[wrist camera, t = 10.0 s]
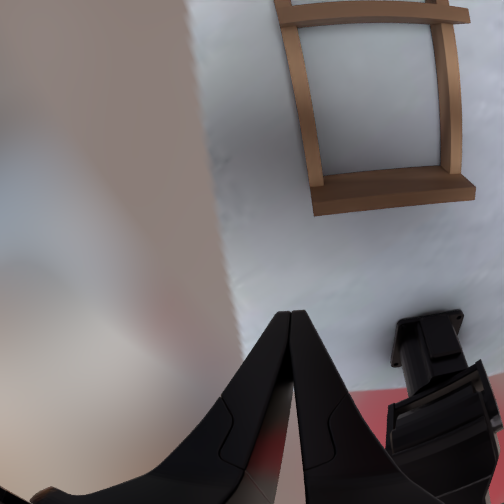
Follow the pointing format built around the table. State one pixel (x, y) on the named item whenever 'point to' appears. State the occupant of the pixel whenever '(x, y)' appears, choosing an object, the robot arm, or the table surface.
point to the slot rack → (449, 172)
